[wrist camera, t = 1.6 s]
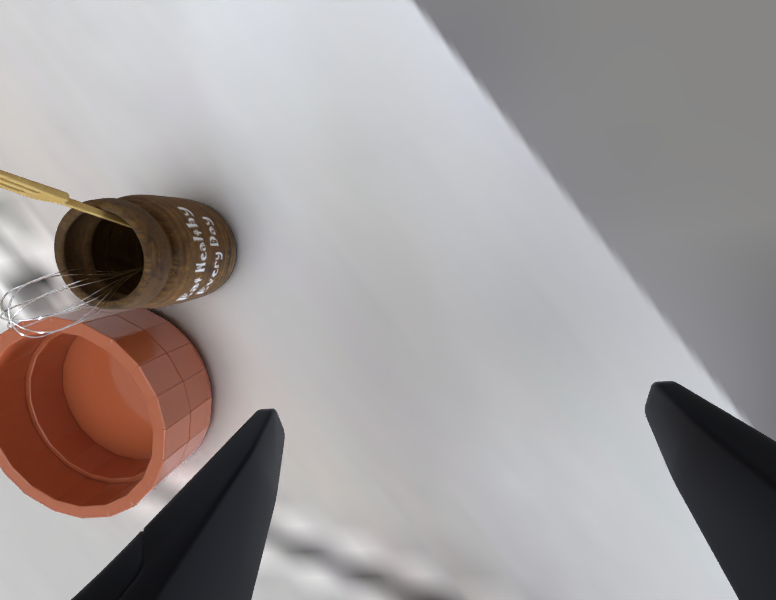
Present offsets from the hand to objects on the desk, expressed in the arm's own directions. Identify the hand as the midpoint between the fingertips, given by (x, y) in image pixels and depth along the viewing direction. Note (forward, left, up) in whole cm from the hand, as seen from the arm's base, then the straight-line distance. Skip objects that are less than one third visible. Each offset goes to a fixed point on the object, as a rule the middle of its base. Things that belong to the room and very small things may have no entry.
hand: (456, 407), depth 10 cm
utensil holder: (-4, +16, -14) cm, 21 cm away
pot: (-15, +16, -14) cm, 26 cm away
